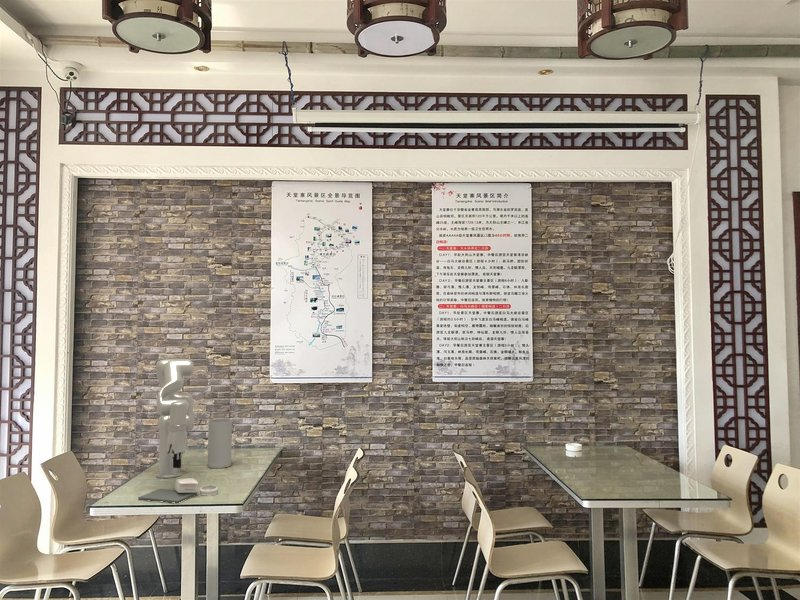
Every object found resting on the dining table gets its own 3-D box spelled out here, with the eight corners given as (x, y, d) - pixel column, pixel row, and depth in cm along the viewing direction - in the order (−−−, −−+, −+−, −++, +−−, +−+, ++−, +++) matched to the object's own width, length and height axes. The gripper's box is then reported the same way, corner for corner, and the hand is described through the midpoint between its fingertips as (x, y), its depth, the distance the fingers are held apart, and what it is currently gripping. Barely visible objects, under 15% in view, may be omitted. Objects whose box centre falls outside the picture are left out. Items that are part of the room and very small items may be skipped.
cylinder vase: (234, 463, 342) (235, 419, 343) (225, 469, 329) (226, 422, 330) (213, 463, 343) (214, 418, 344) (203, 468, 331) (204, 422, 332)
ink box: (173, 489, 285) (178, 494, 272) (174, 478, 286) (179, 482, 273) (192, 488, 289) (198, 493, 276) (193, 478, 289) (199, 482, 276)
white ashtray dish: (205, 490, 287) (205, 484, 287) (220, 491, 285) (221, 486, 285) (196, 495, 279) (196, 489, 279) (211, 496, 277) (211, 490, 277)
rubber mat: (159, 491, 285) (159, 488, 285) (197, 494, 280) (197, 492, 280) (138, 500, 270) (138, 497, 270) (177, 503, 265) (177, 501, 265)
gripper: (180, 425, 294) (179, 463, 293) (161, 430, 279) (160, 470, 278) (194, 426, 292) (193, 464, 291) (175, 431, 277) (174, 471, 277)
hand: (176, 467), depth 285 cm, fingers closed
